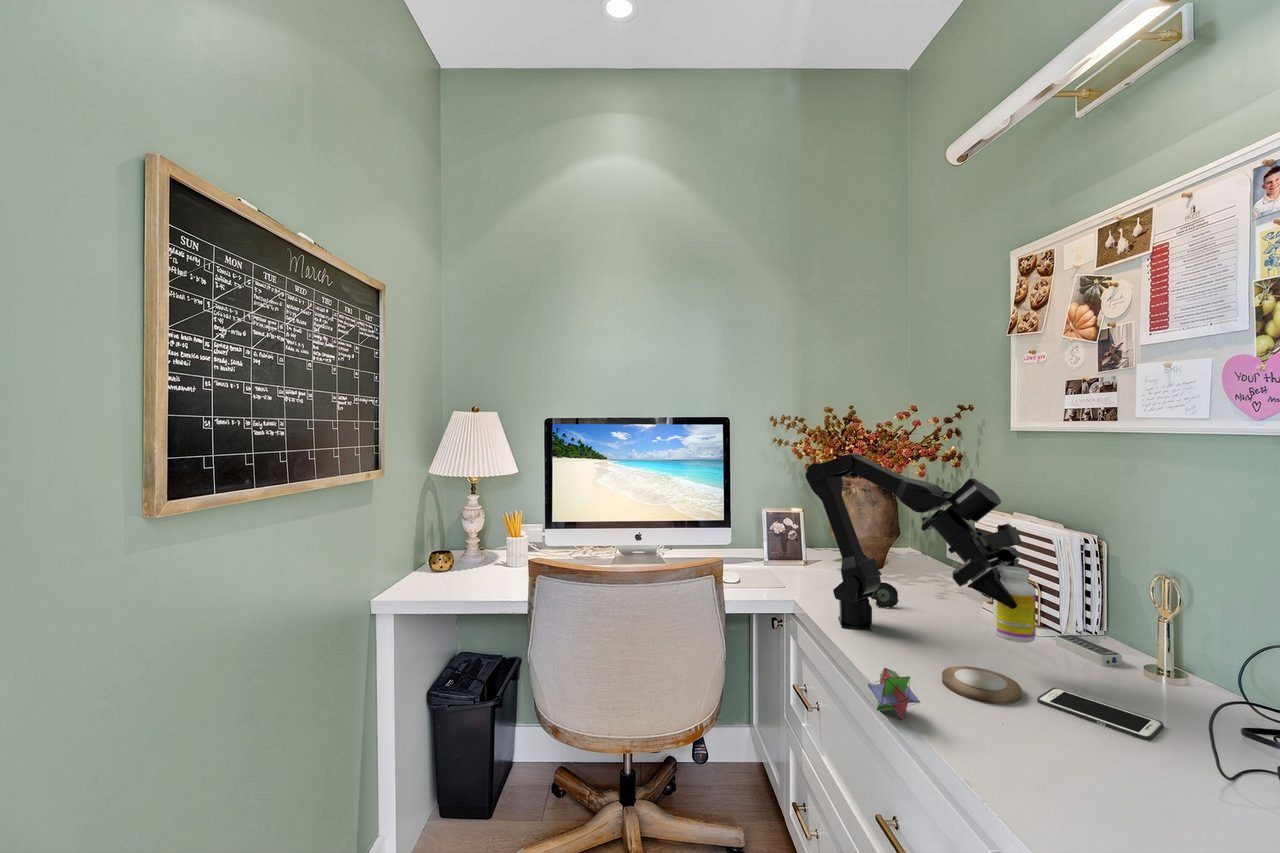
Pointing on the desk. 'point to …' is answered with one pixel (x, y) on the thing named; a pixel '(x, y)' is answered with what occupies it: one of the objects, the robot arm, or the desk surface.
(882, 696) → the geometric puzzle
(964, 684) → the brown rimmed plate
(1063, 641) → the multiport hub
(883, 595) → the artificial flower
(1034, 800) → the desk surface
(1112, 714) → the cell phone
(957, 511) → the robot arm
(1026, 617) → the supplement bottle
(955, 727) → the desk surface
